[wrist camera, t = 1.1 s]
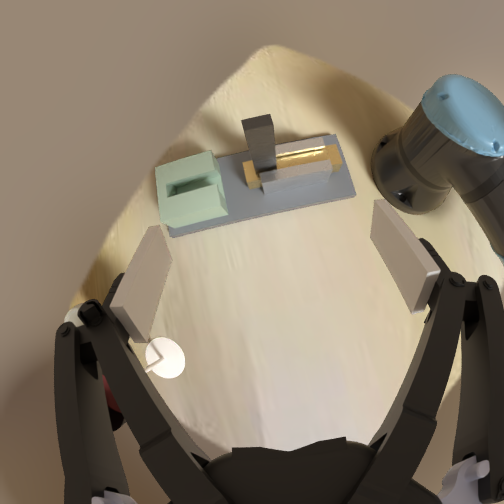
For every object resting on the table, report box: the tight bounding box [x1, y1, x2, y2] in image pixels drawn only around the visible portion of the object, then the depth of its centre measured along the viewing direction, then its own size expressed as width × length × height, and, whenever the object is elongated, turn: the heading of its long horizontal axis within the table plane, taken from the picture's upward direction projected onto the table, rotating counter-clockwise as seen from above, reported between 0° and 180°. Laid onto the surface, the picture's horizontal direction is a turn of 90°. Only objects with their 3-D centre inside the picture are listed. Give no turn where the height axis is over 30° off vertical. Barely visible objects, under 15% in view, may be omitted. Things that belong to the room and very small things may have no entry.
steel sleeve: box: [260, 137, 333, 195], centre depth 38 cm, size 10×5×5 cm, turn 102°
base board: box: [168, 134, 356, 238], centre depth 42 cm, size 30×11×2 cm, turn 102°
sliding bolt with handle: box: [241, 114, 343, 189], centre depth 32 cm, size 14×3×15 cm, turn 102°
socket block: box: [155, 150, 229, 229], centre depth 39 cm, size 9×9×5 cm
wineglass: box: [102, 337, 185, 431], centre depth 32 cm, size 8×9×20 cm
